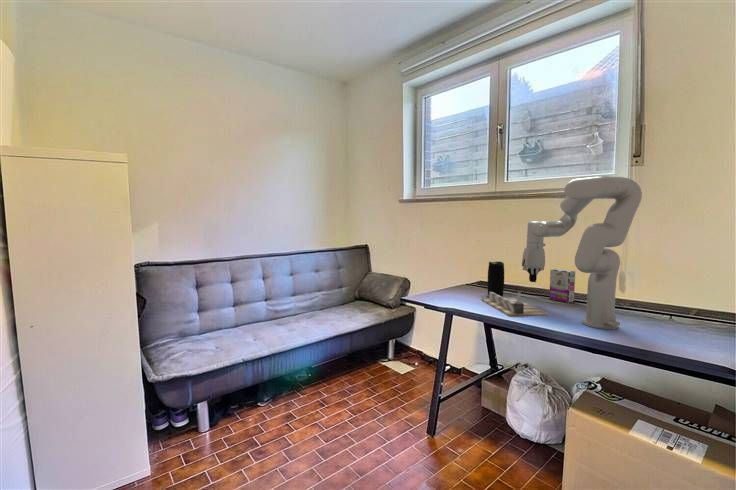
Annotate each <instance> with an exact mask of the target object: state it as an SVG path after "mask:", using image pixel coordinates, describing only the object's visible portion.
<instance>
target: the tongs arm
mask: <svg viewBox="0 0 736 490" xmlns="http://www.w3.org/2000/svg"><path fill="white" fill-rule="evenodd" d="M521 294H522V293H521V292H520V291H519V292H517V295H516V299H517V301H516V303H520V301H521Z"/></svg>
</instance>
